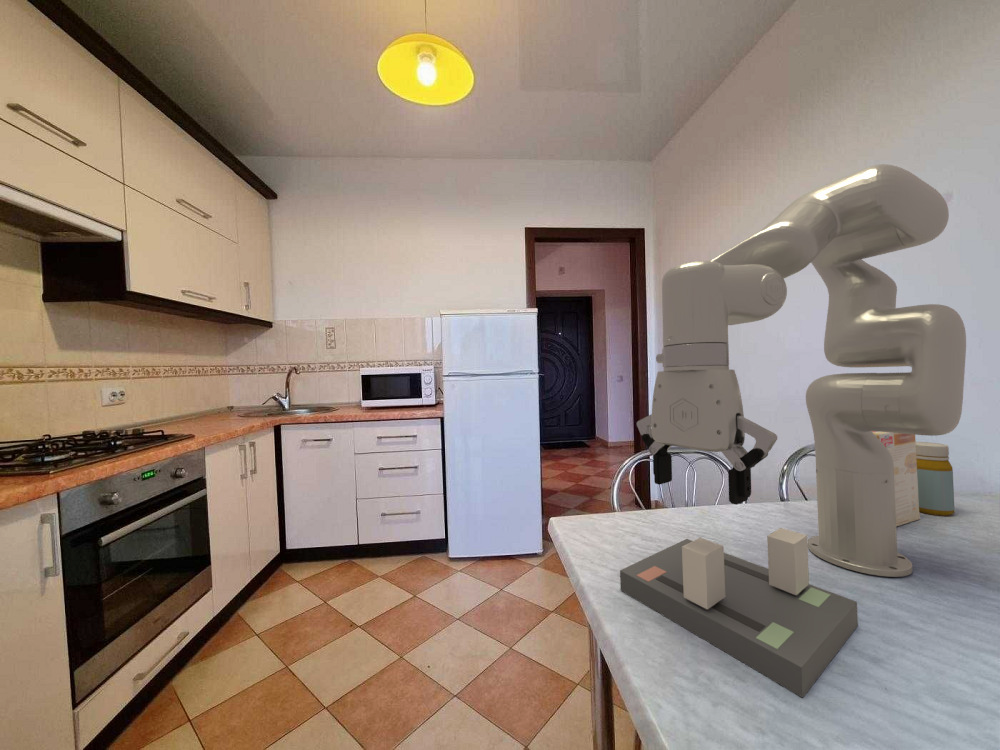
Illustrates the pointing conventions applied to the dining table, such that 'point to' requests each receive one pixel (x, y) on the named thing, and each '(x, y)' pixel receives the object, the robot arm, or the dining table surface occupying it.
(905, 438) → the coffeecake box
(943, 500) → the bottle
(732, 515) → the dining table surface
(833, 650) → the breaker panel
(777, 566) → the block
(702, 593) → the block
